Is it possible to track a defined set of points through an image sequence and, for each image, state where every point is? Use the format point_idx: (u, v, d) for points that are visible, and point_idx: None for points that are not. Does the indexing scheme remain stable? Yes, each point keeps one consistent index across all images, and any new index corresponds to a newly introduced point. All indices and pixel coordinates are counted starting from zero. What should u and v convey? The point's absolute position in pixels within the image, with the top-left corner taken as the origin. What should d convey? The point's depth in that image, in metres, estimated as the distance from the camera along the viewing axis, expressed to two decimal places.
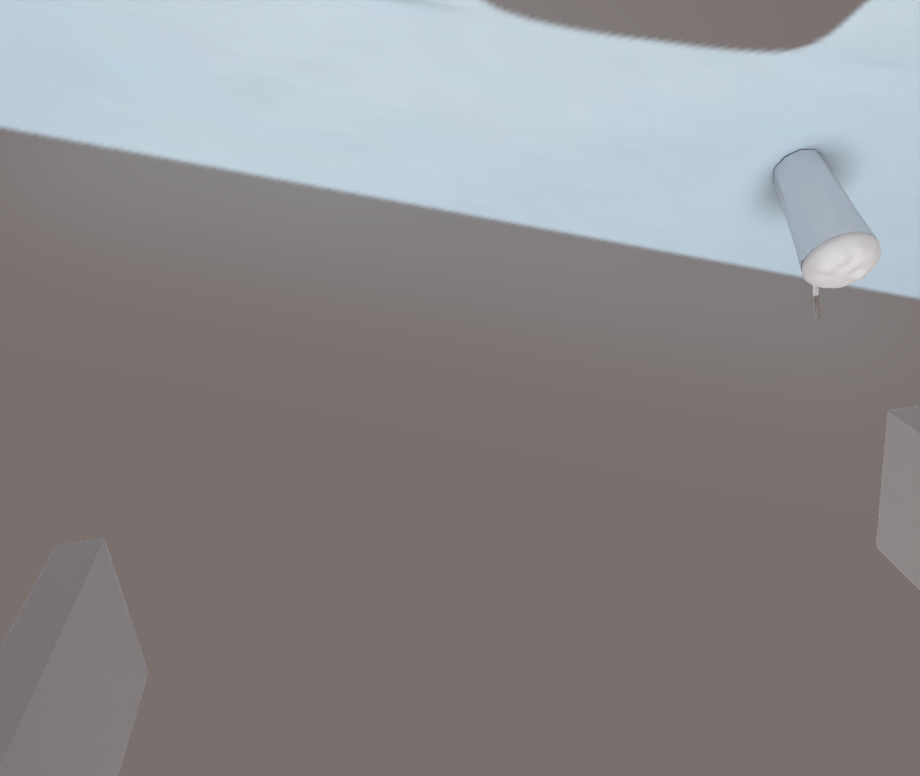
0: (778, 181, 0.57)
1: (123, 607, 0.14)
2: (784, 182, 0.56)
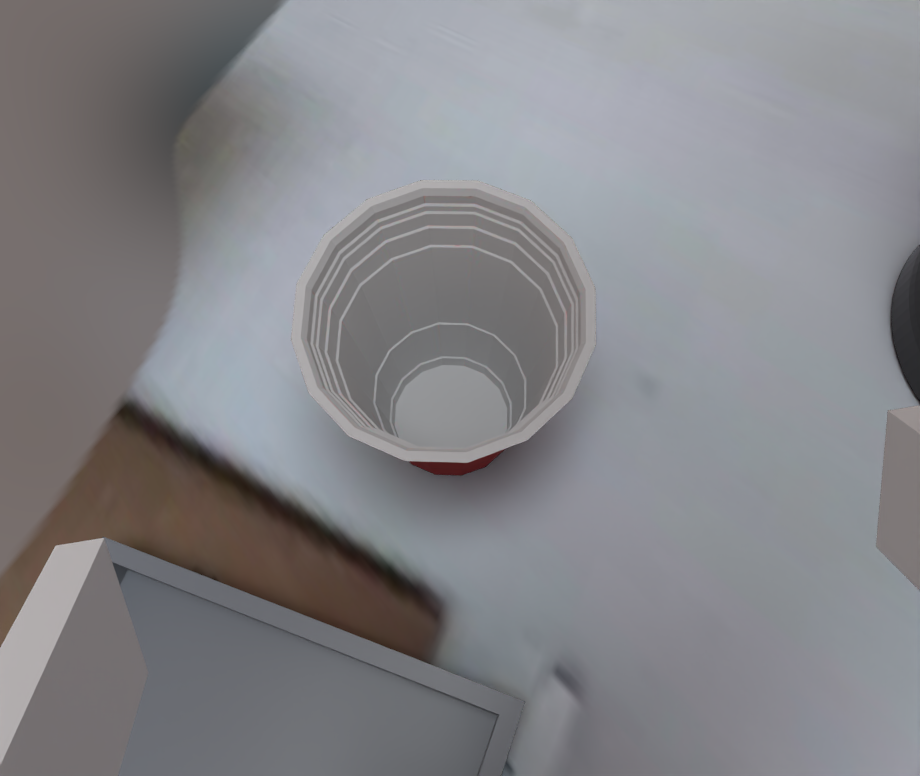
0: None
1: (123, 607, 0.14)
2: None
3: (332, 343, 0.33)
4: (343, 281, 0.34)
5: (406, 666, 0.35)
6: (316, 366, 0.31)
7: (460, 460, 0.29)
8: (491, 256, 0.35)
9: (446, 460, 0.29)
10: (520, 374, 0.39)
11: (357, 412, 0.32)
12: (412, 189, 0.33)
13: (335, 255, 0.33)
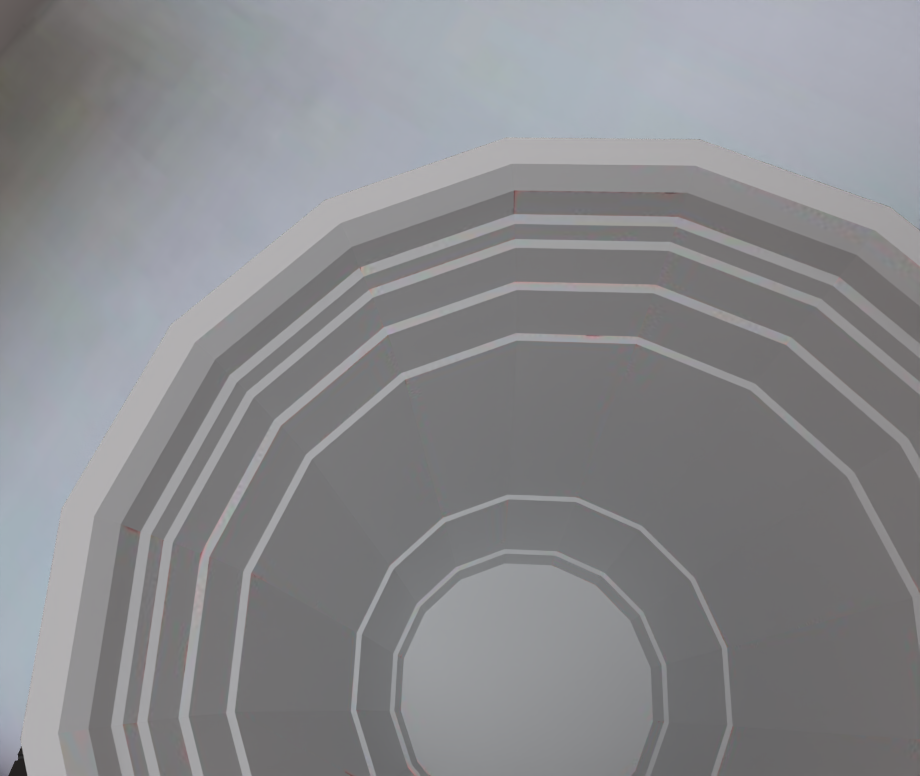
0: None
1: None
2: None
3: (214, 665, 0.10)
4: (253, 459, 0.11)
5: None
6: None
7: None
8: (691, 368, 0.12)
9: None
10: (710, 630, 0.16)
11: None
12: (478, 168, 0.10)
13: (217, 389, 0.10)
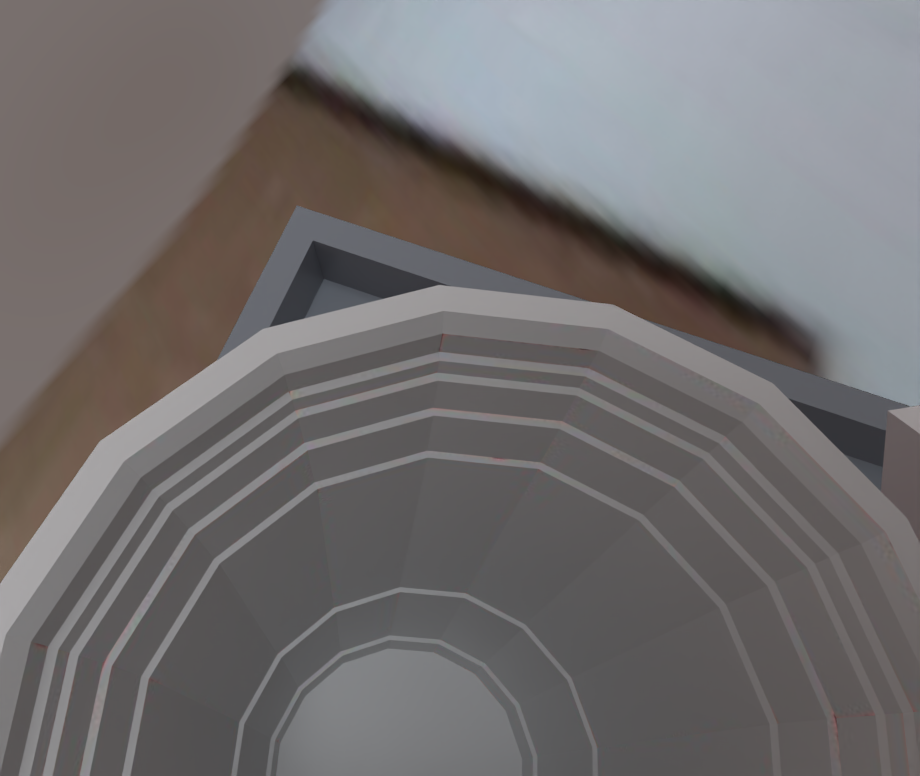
0: None
1: None
2: None
3: (106, 775, 0.10)
4: (164, 569, 0.11)
5: (823, 393, 0.21)
6: None
7: None
8: (586, 495, 0.13)
9: None
10: (583, 730, 0.17)
11: None
12: (412, 312, 0.10)
13: (138, 504, 0.10)
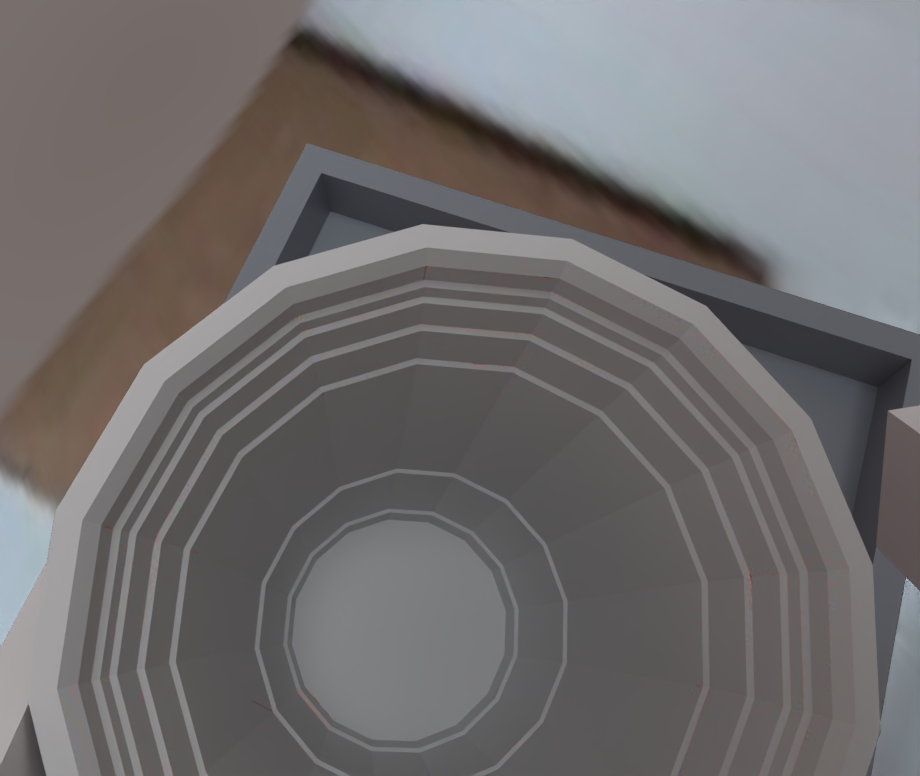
0: None
1: None
2: None
3: (162, 626, 0.13)
4: (198, 463, 0.13)
5: (765, 299, 0.24)
6: (104, 766, 0.11)
7: None
8: (554, 394, 0.15)
9: None
10: (556, 587, 0.20)
11: None
12: (399, 249, 0.12)
13: (177, 414, 0.12)
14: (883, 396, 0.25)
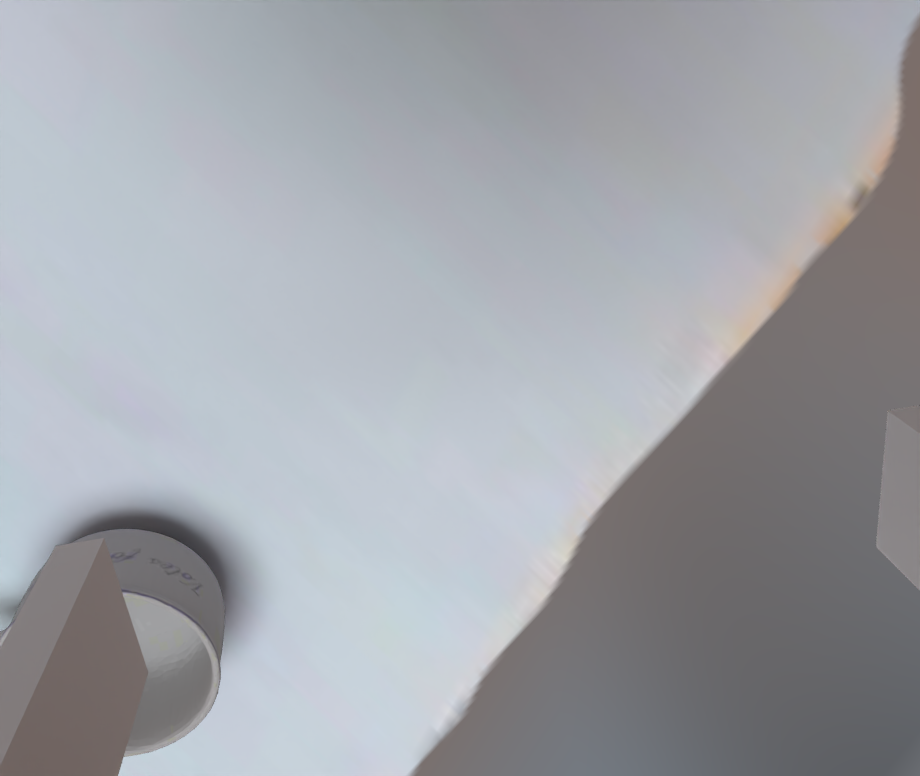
0: None
1: (123, 607, 0.14)
2: None
3: None
4: None
5: None
6: None
7: None
8: None
9: None
10: None
11: None
12: None
13: None
14: None
